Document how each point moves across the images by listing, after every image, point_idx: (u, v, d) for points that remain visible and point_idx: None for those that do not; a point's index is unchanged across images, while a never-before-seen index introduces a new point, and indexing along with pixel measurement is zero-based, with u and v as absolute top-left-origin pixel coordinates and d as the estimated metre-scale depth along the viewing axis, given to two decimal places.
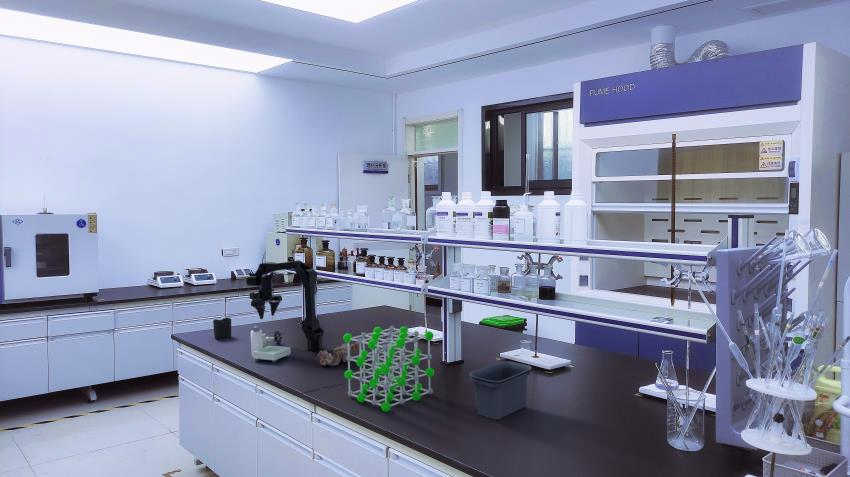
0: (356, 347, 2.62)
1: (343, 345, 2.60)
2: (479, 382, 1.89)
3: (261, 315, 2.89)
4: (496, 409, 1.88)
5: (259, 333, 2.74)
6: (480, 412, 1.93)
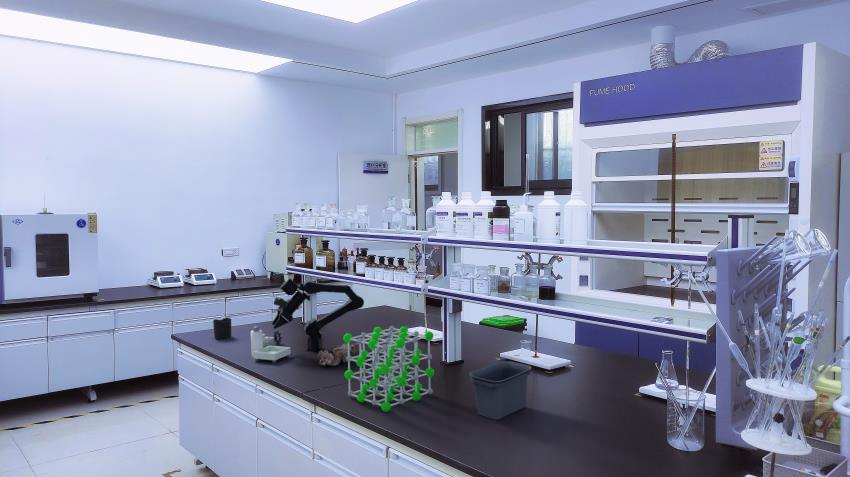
0: (356, 347, 2.61)
1: (343, 345, 2.59)
2: (479, 382, 1.89)
3: (278, 326, 2.74)
4: (496, 409, 1.88)
5: (259, 333, 2.74)
6: (480, 412, 1.93)
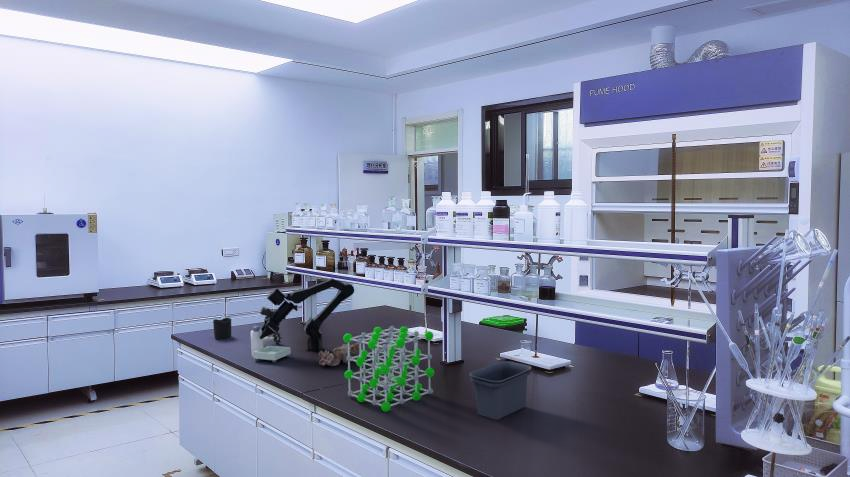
0: (357, 348, 2.60)
1: (343, 345, 2.59)
2: (479, 382, 1.89)
3: (264, 336, 2.72)
4: (496, 409, 1.88)
5: (259, 333, 2.74)
6: (480, 412, 1.93)
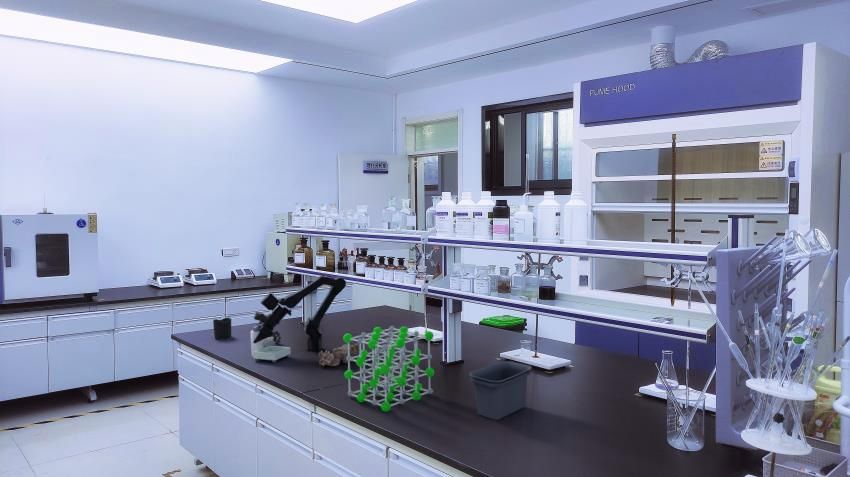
0: (357, 348, 2.60)
1: (343, 346, 2.58)
2: (479, 382, 1.89)
3: (258, 340, 2.73)
4: (496, 409, 1.88)
5: None
6: (480, 412, 1.93)
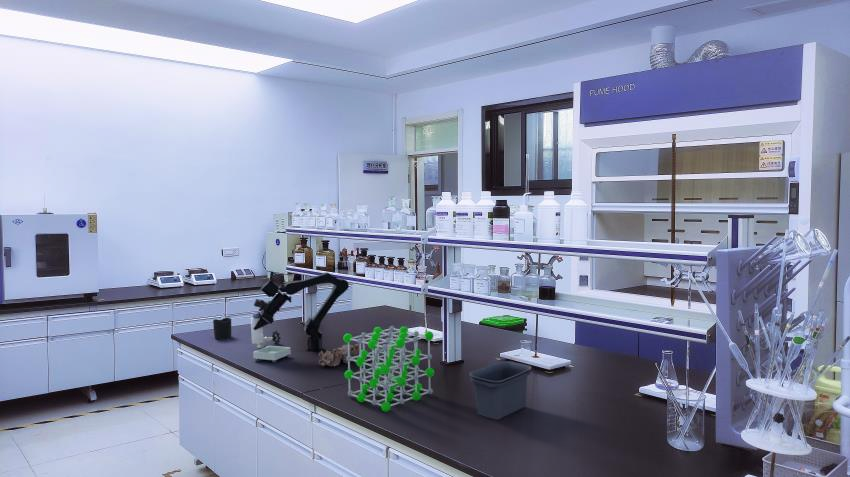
0: (357, 349, 2.59)
1: (344, 346, 2.58)
2: (479, 382, 1.89)
3: (258, 327, 2.72)
4: (496, 409, 1.88)
5: None
6: (480, 412, 1.93)
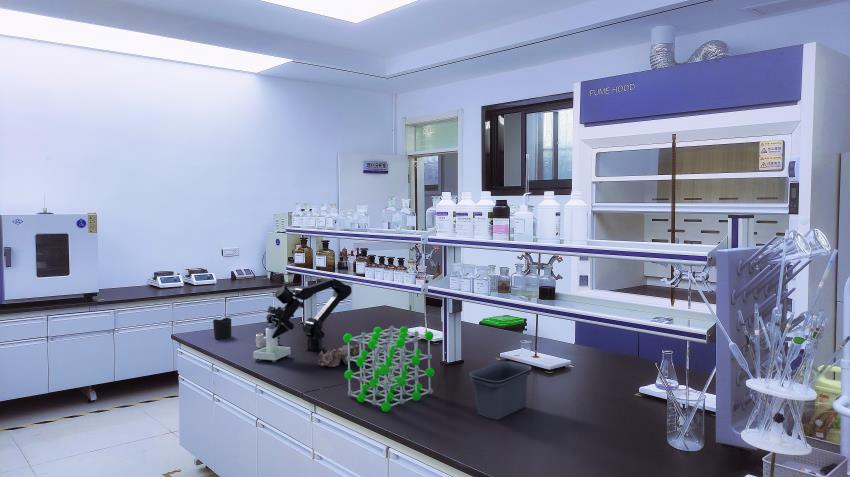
0: (357, 349, 2.57)
1: (344, 347, 2.57)
2: (479, 382, 1.89)
3: (277, 335, 2.65)
4: (496, 409, 1.88)
5: None
6: (480, 412, 1.93)
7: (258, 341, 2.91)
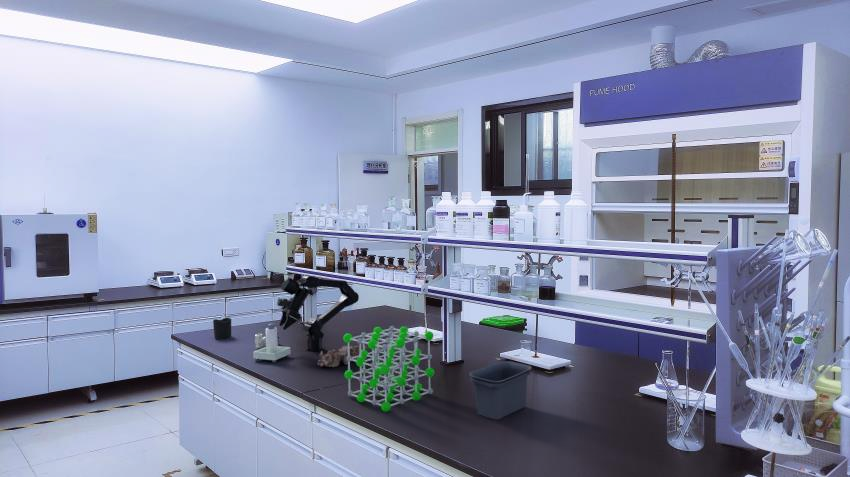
0: (357, 350, 2.56)
1: (343, 347, 2.56)
2: (479, 382, 1.89)
3: (287, 326, 2.72)
4: (496, 409, 1.88)
5: (276, 330, 2.68)
6: (480, 412, 1.93)
7: (257, 341, 2.91)
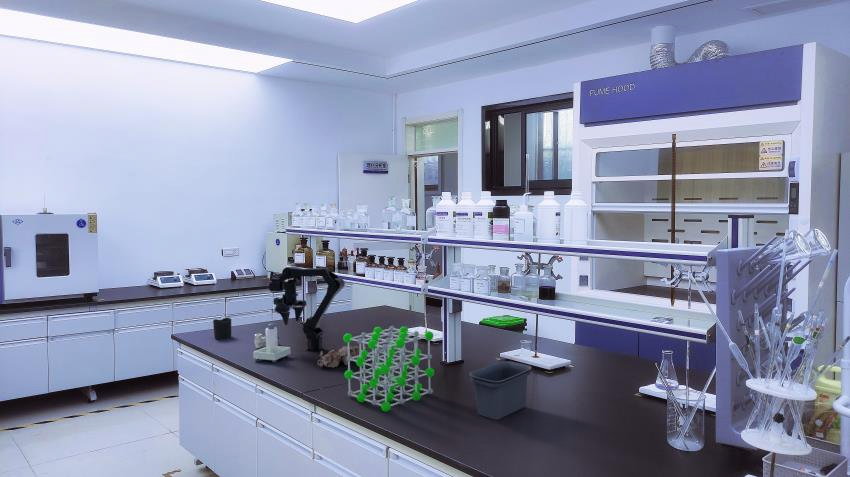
0: (356, 351, 2.55)
1: (343, 348, 2.55)
2: (479, 382, 1.89)
3: (286, 321, 2.82)
4: (496, 409, 1.88)
5: (276, 330, 2.68)
6: (480, 412, 1.93)
7: (257, 341, 2.91)
